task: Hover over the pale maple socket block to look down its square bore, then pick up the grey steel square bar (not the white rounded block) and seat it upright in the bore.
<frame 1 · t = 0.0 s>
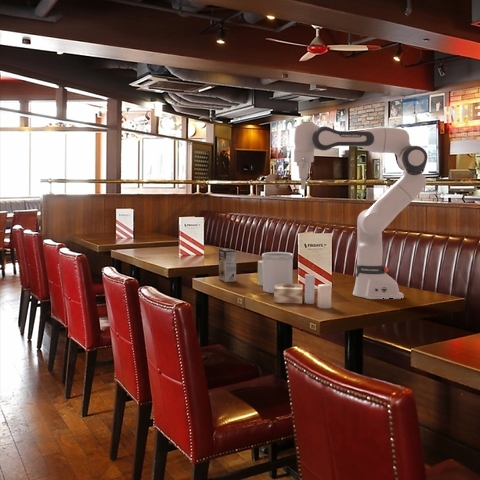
hand: (303, 189, 249), 48 cm above the table, tool pointing down, fingers open, 8 cm apart
socket block: (288, 299, 239), on the table
coffee box: (227, 280, 286), on the table
can: (266, 284, 275), on the table
utensil holder: (276, 290, 260), on the table
square bar: (309, 302, 234), on the table
white rounded block: (324, 306, 227), on the table
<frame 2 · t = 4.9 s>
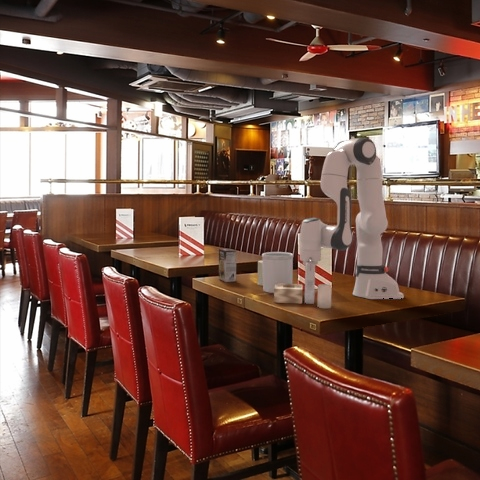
hand: (309, 288, 234), 6 cm above the table, tool pointing down, fingers closed on square bar, 4 cm apart
square bar: (309, 302, 234), on the table, touching gripper
everything else where it was.
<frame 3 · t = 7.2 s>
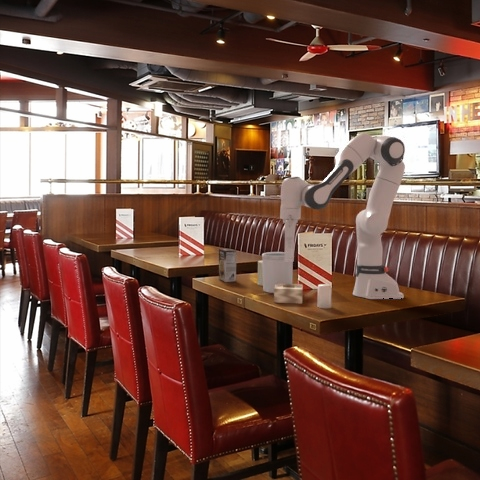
hand: (289, 246, 237), 23 cm above the table, tool pointing down, fingers closed on square bar, 4 cm apart
square bar: (289, 261, 237), point 17 cm above the table, touching gripper
everything else where it was.
when the fingers open (8 cm above the table, at t = 9.7 s): square bar drops 2 cm, resting in socket block.
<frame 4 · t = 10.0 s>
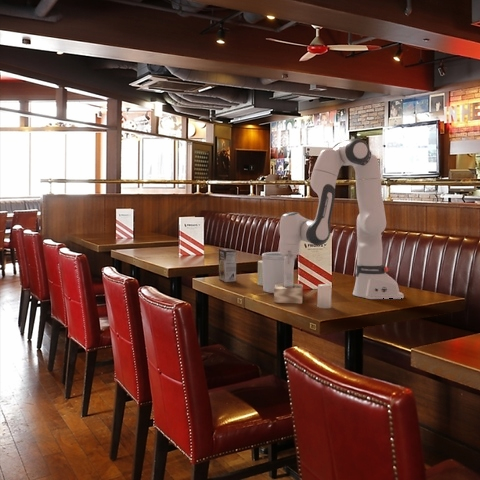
hand: (288, 281, 239), 8 cm above the table, tool pointing down, fingers open, 7 cm apart
square bar: (288, 299, 239), resting in socket block
everything else where it was.
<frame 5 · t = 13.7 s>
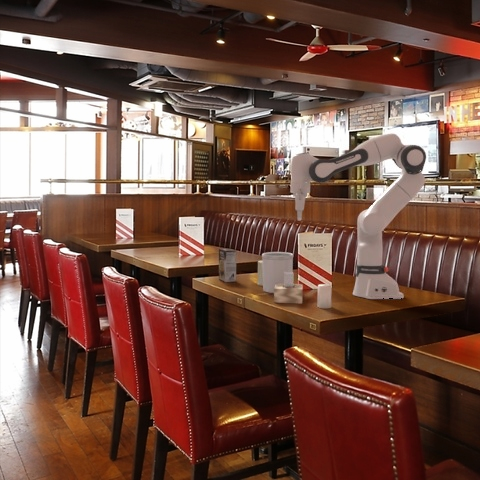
hand: (299, 219, 249), 34 cm above the table, tool pointing down, fingers open, 8 cm apart
nothing on the table moved.
at the end: square bar 0.0 cm off-centre on the socket block, point 0.0 cm above the socket block's base; square bar tilted 0°; the gripper is holding nothing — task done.
